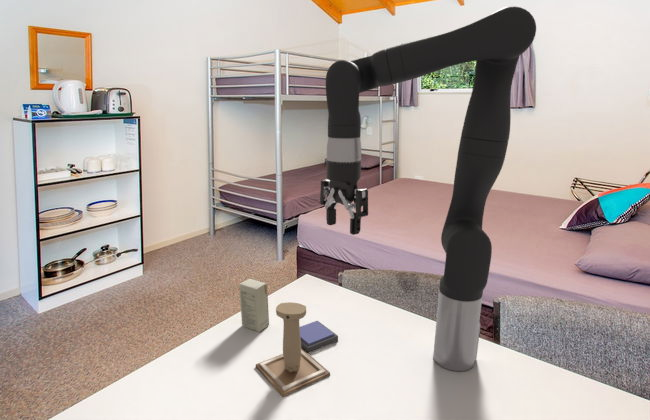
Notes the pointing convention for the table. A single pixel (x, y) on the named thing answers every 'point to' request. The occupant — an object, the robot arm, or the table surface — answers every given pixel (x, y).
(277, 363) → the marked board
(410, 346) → the table surface
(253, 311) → the skincare box
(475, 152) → the robot arm
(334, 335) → the ink pad
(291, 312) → the handle
